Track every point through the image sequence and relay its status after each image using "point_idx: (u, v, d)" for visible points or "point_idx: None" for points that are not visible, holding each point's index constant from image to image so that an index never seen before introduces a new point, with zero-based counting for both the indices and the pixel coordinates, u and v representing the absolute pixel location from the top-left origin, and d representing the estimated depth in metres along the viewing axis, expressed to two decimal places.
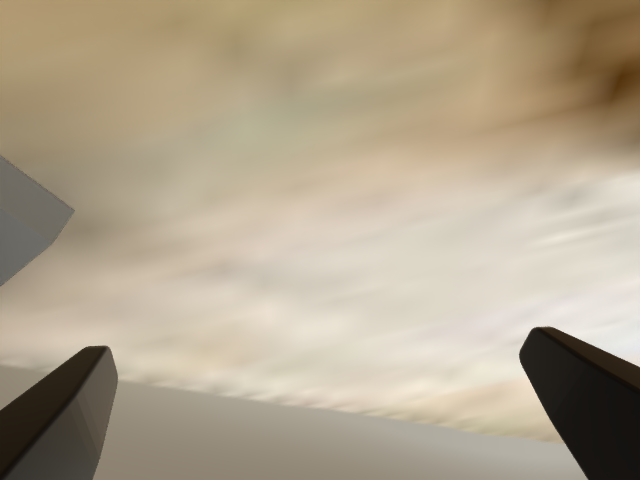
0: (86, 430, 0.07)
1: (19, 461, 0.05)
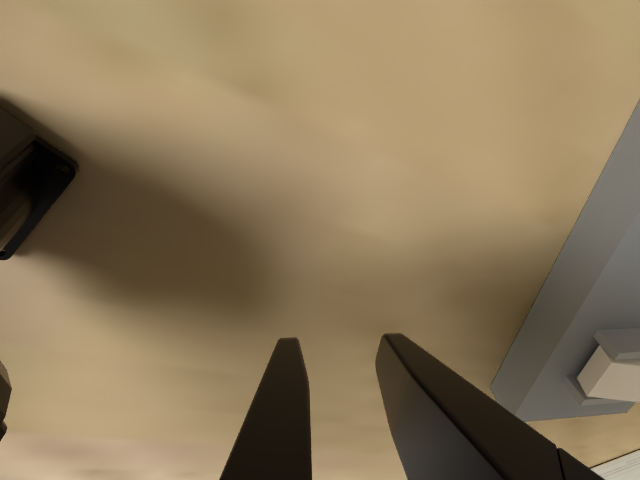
0: None
1: (309, 436, 0.06)
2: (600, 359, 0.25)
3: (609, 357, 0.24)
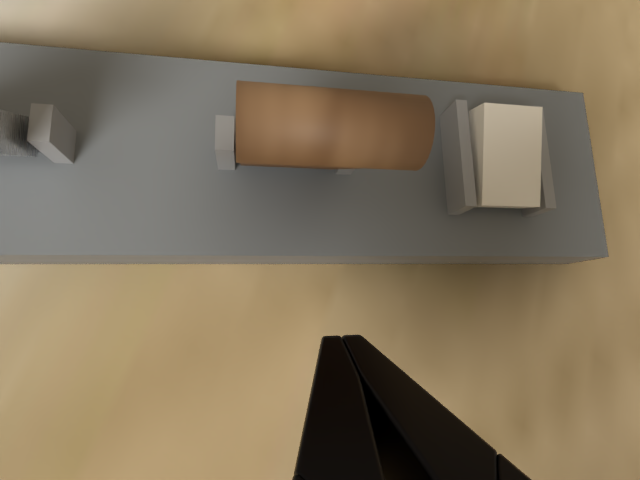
0: None
1: (371, 431, 0.06)
2: (484, 206, 0.21)
3: (477, 204, 0.20)
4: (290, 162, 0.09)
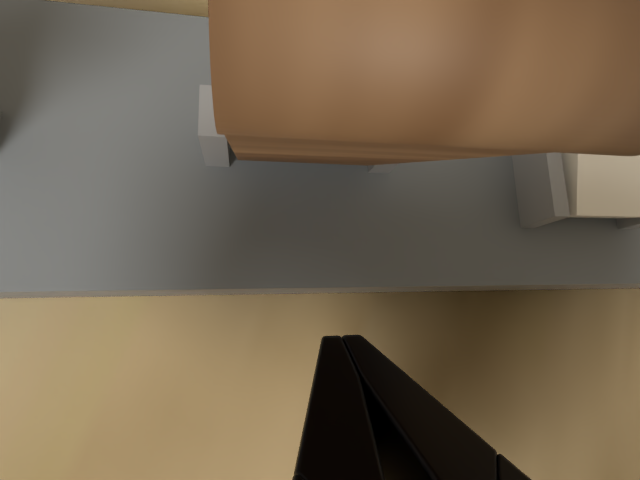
0: None
1: (371, 431, 0.06)
2: (574, 216, 0.15)
3: None
4: (358, 132, 0.04)
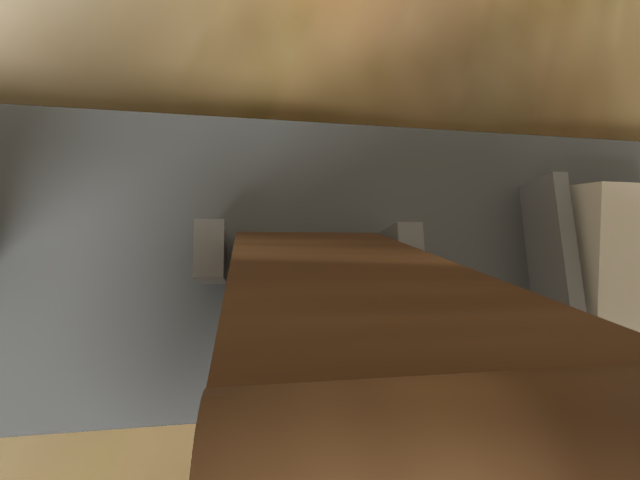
0: None
1: None
2: None
3: None
4: None
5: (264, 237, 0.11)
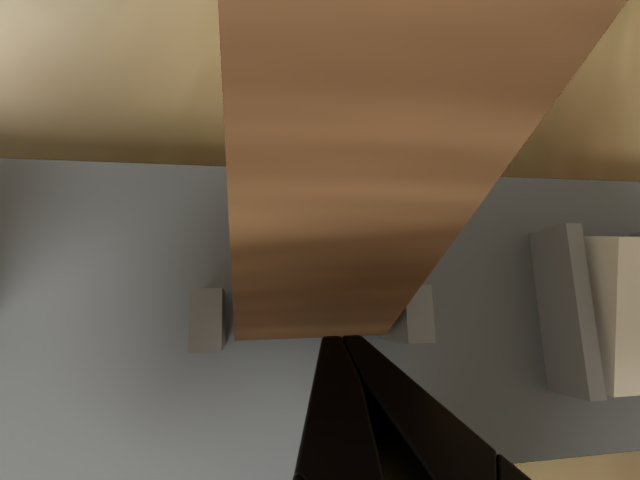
0: None
1: (371, 431, 0.06)
2: None
3: None
4: None
5: None
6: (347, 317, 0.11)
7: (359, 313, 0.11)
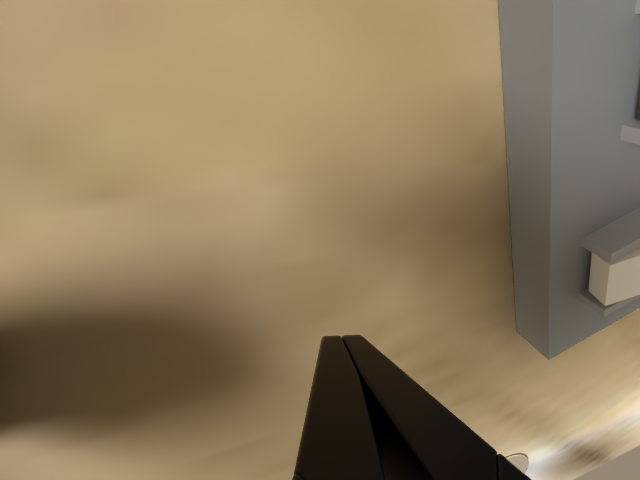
0: None
1: (371, 431, 0.06)
2: (599, 265, 0.23)
3: (605, 260, 0.22)
4: None
5: None
6: None
7: None
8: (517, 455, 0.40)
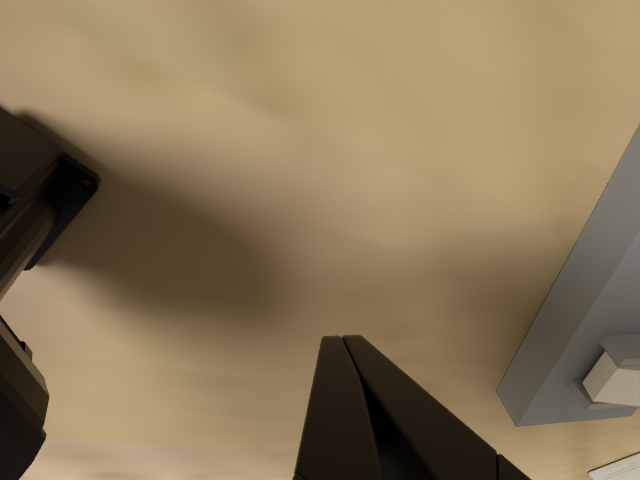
0: None
1: (371, 431, 0.06)
2: (606, 365, 0.25)
3: (615, 363, 0.25)
4: None
5: None
6: None
7: None
8: None
